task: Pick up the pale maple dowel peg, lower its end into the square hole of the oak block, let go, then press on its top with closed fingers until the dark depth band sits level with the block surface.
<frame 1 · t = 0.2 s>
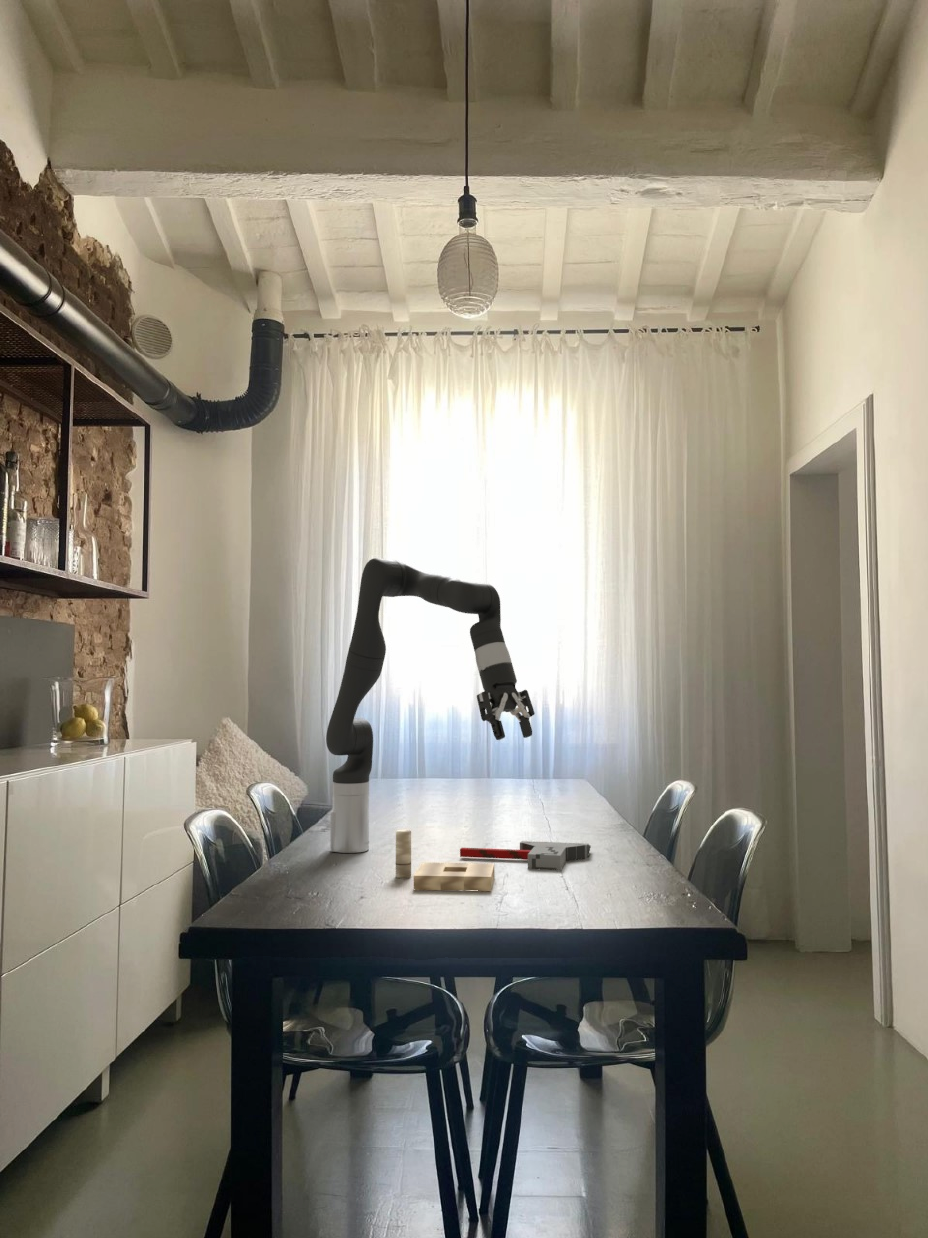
hand: (514, 737, 205), 31 cm above the table, tool tilted 20°, fingers open, 8 cm apart
toy hammer: (523, 861, 232), on the table
peg: (403, 877, 211), on the table
board: (455, 883, 204), on the table
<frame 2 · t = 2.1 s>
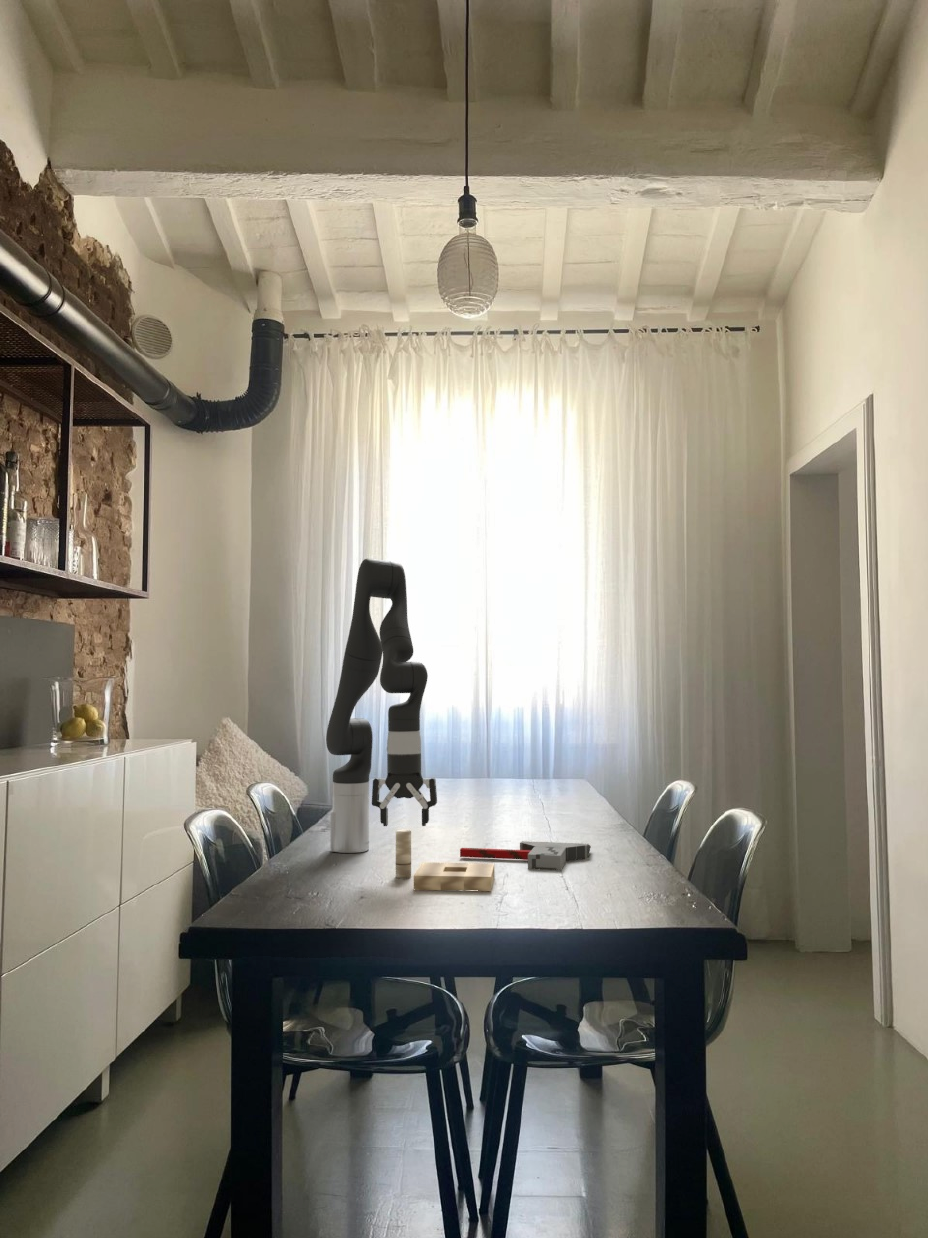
hand: (404, 825, 211), 11 cm above the table, tool pointing down, fingers open, 8 cm apart
nothing on the table moved.
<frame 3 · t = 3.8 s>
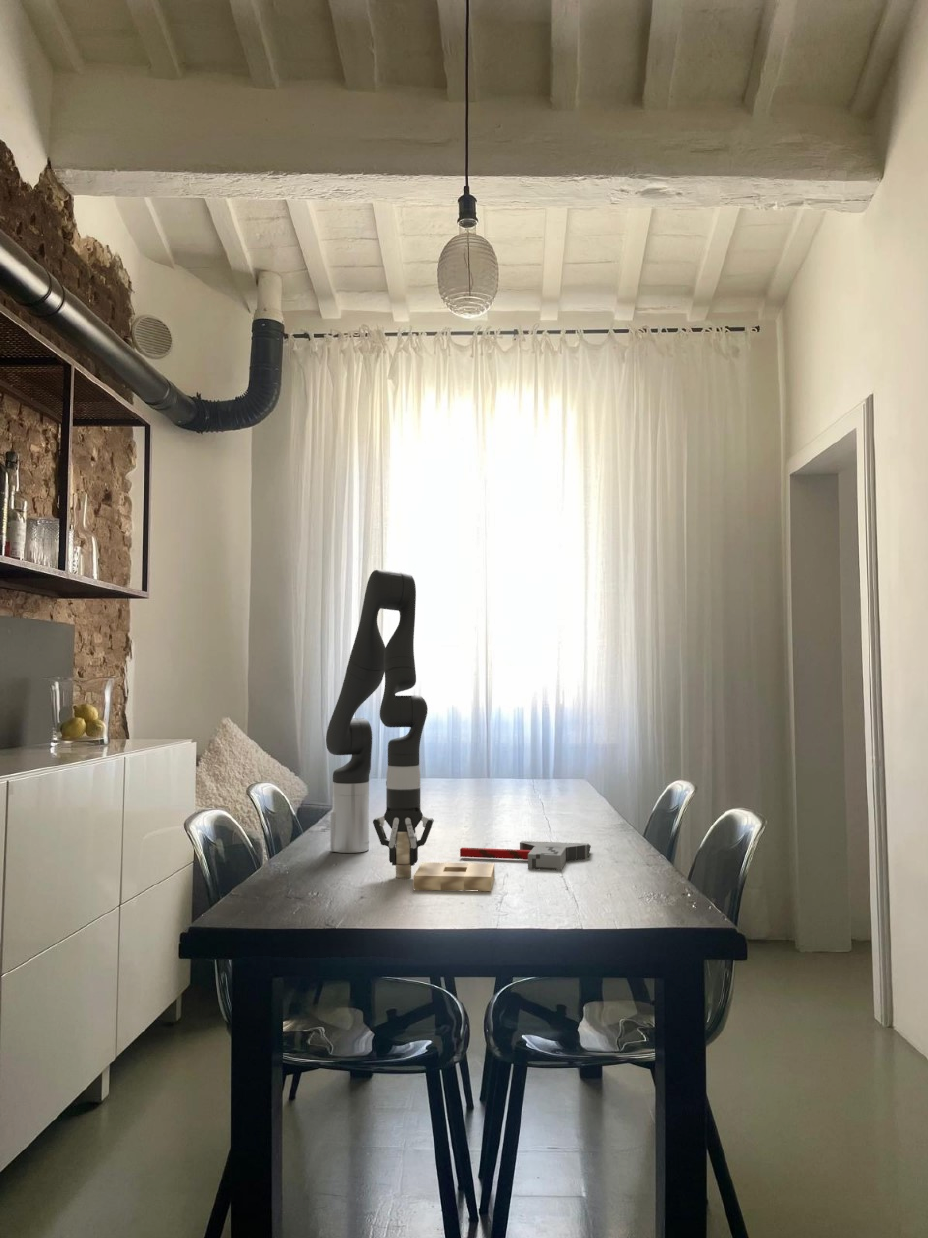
hand: (403, 864, 211), 3 cm above the table, tool pointing down, fingers closed on peg, 3 cm apart
peg: (403, 877, 211), on the table, touching gripper
everything else where it was.
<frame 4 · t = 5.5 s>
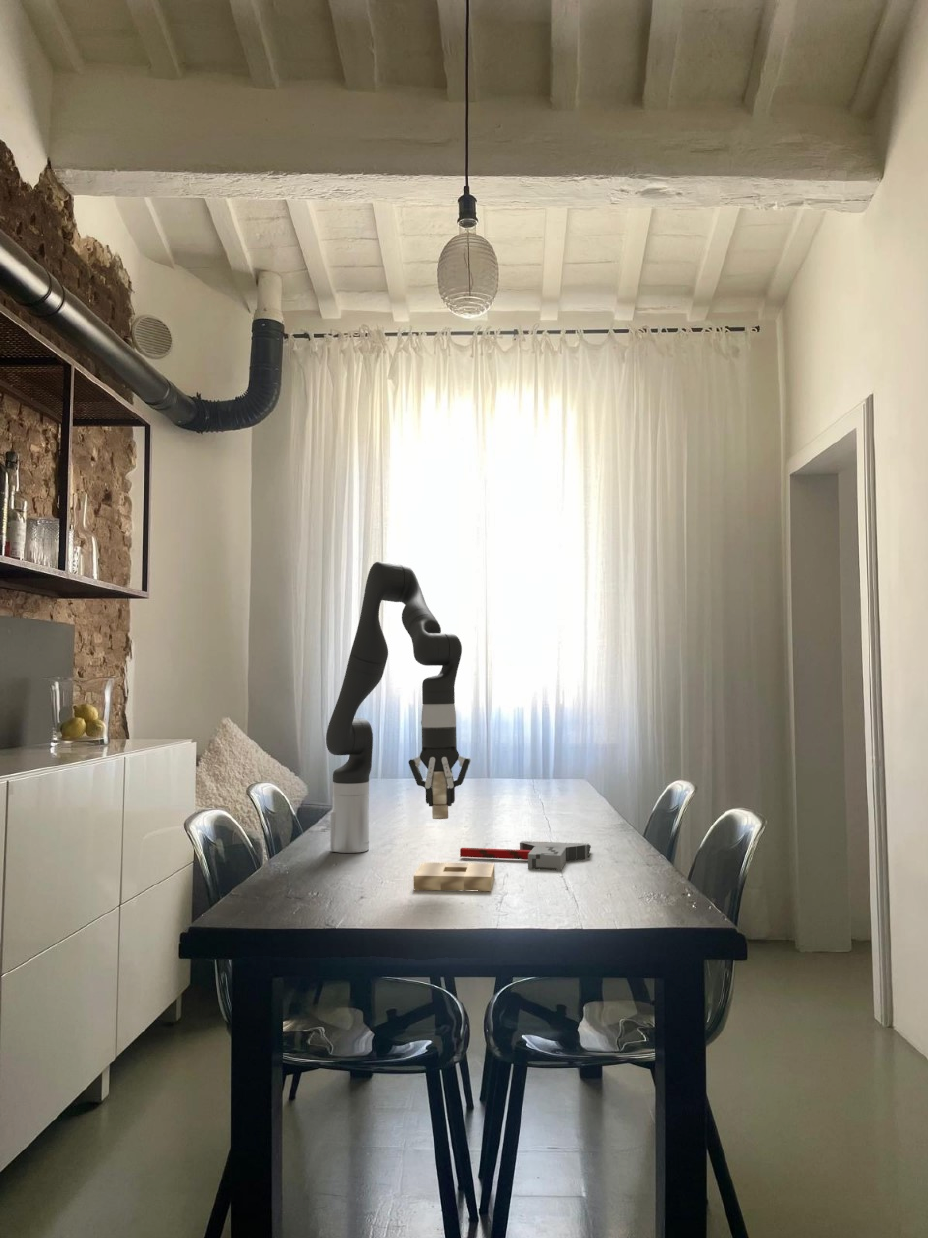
hand: (440, 805, 206), 16 cm above the table, tool pointing down, fingers closed on peg, 3 cm apart
peg: (440, 818, 206), point 14 cm above the table, touching gripper
everything else where it was.
when the fingers open (4 cm above the table, at t = 7.5 s): peg drops 1 cm, resting in board.
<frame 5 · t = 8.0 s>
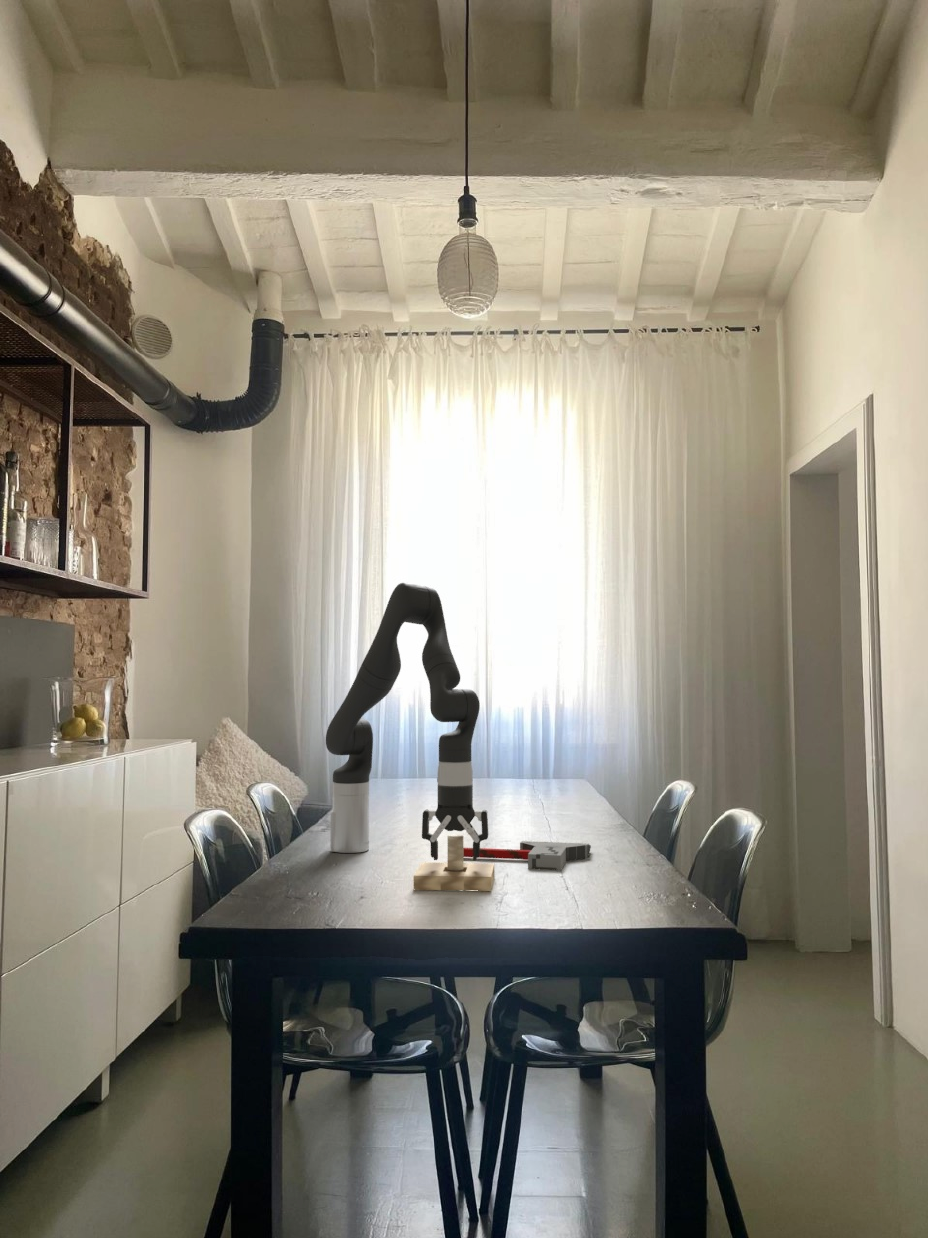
hand: (455, 859, 204), 5 cm above the table, tool pointing down, fingers open, 8 cm apart
peg: (455, 883, 204), resting in board
everything else where it was.
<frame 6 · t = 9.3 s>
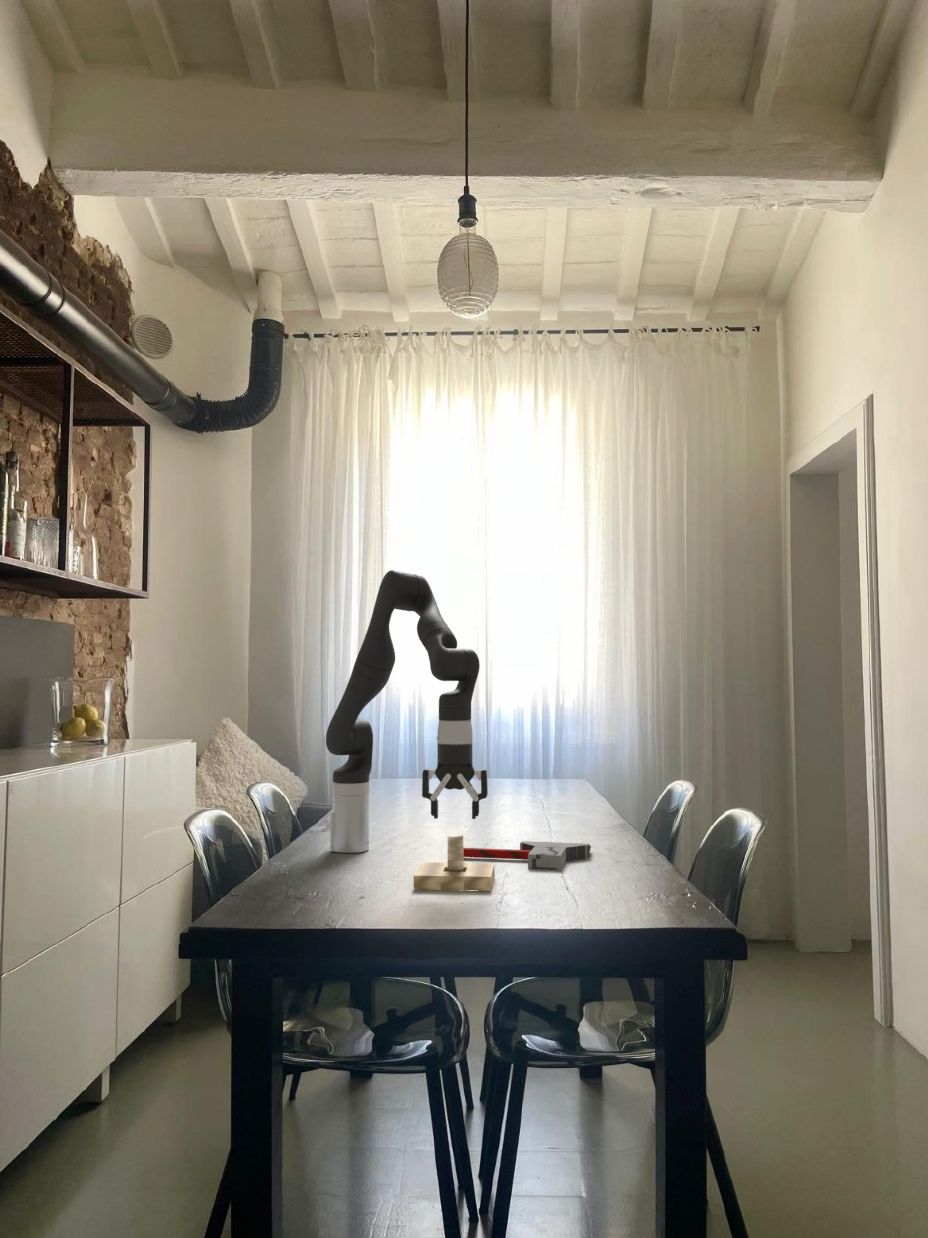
hand: (454, 818, 205), 14 cm above the table, tool pointing down, fingers open, 7 cm apart
nothing on the table moved.
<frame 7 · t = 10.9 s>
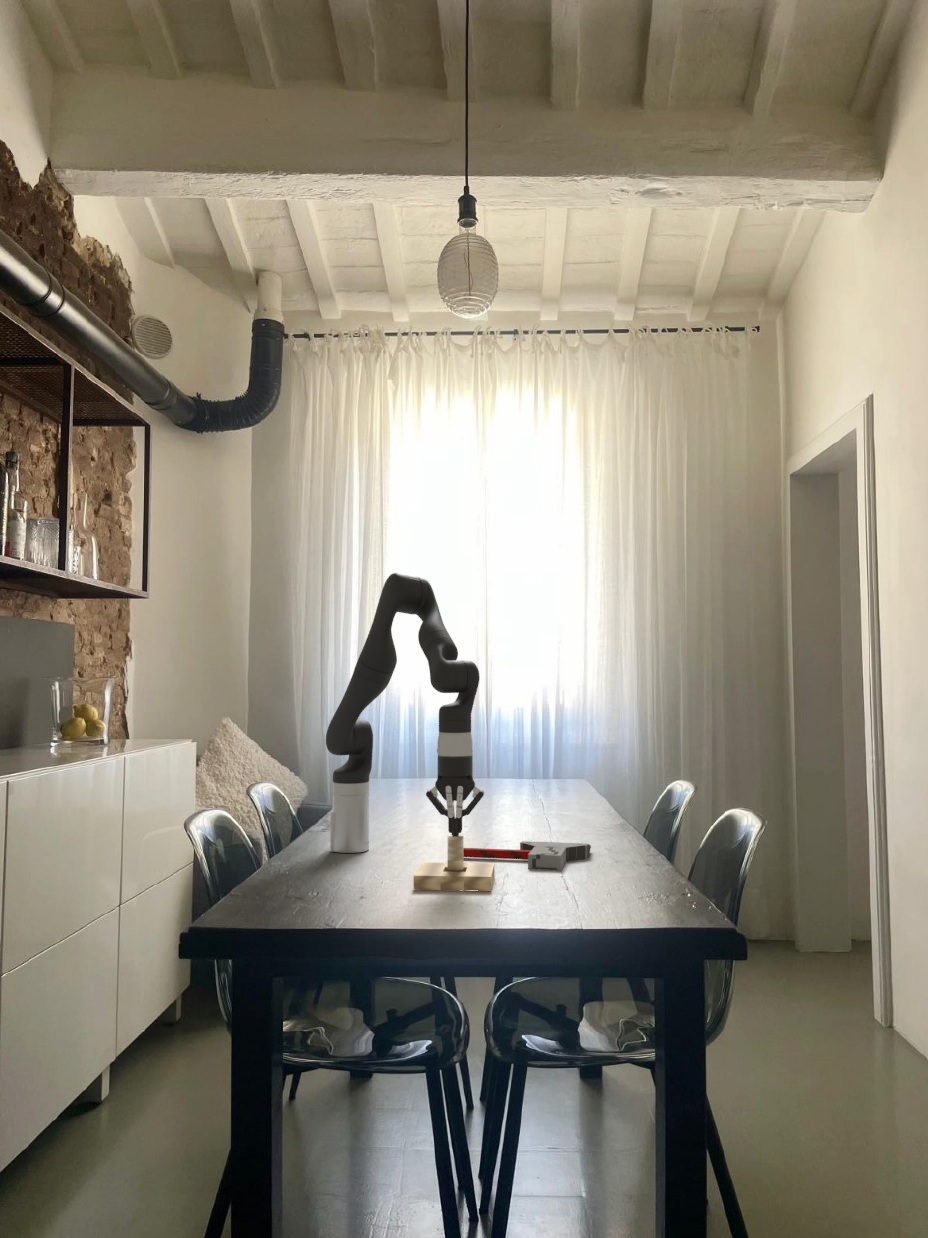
hand: (455, 835, 205), 10 cm above the table, tool pointing down, fingers closed
nothing on the table moved.
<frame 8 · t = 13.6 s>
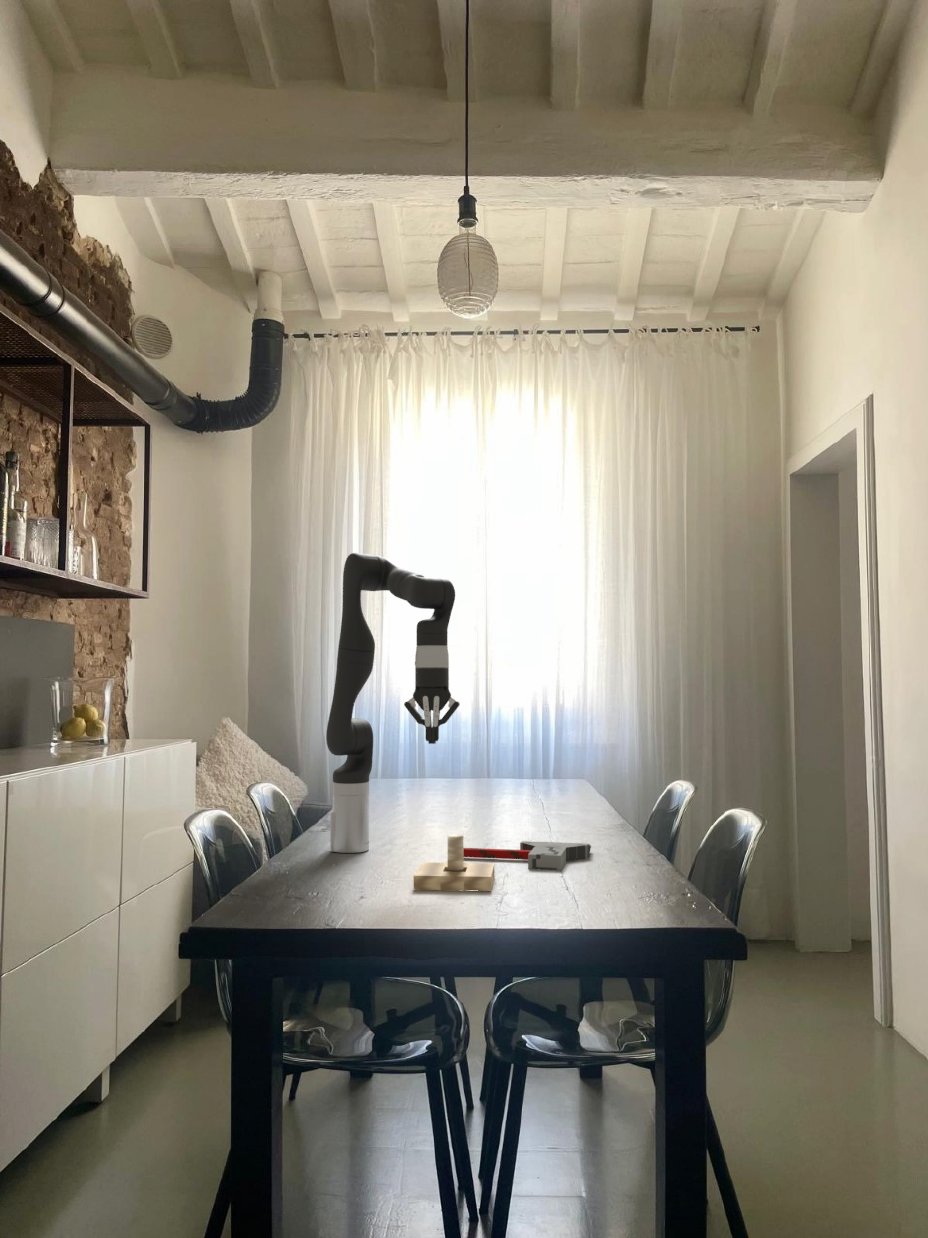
hand: (432, 743, 215), 29 cm above the table, tool pointing down, fingers closed
nothing on the table moved.
at the end: peg 0.1 cm off-centre on the board, point 0.0 cm above the board's base; peg tilted 0°; the gripper is holding nothing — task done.
